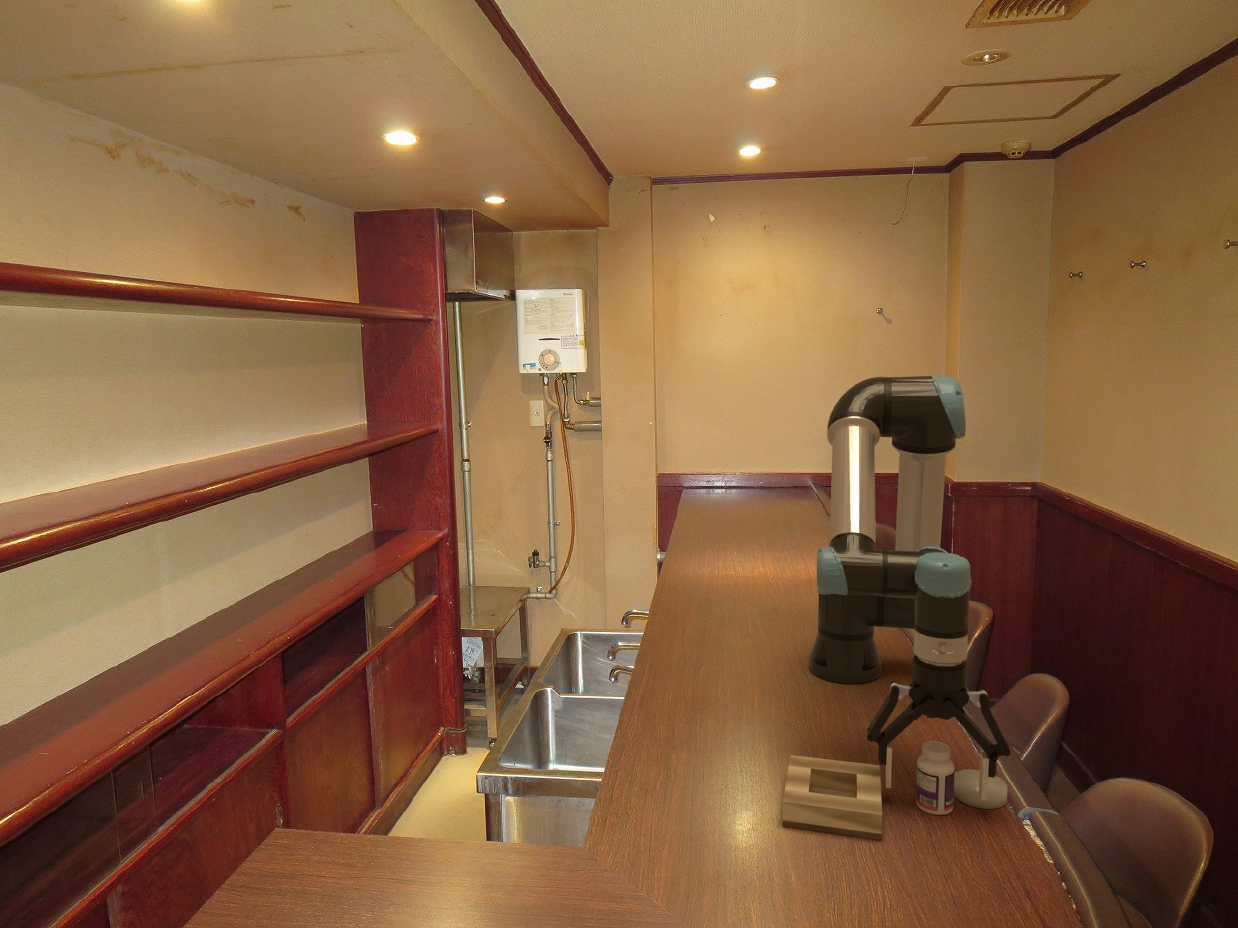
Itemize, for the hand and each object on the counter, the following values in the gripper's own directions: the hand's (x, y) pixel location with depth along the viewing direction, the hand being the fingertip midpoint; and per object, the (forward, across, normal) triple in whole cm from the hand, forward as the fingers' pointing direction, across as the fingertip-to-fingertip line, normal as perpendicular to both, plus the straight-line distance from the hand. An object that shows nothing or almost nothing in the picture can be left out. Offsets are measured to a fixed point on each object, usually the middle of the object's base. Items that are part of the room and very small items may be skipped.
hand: (934, 789), depth 125 cm
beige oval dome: (+3, +7, +5) cm, 9 cm away
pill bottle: (+3, 0, 0) cm, 3 cm away
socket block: (+3, -15, -4) cm, 16 cm away
